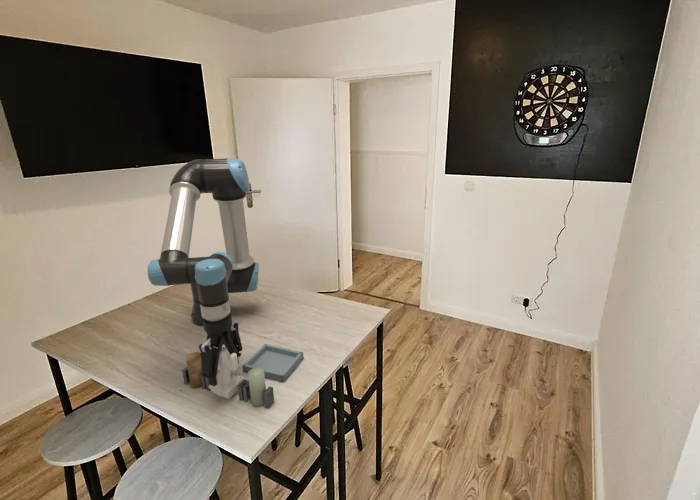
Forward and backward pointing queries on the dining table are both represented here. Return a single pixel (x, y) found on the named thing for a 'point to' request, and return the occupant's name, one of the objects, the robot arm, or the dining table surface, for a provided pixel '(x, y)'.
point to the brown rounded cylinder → (194, 369)
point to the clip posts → (242, 389)
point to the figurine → (228, 374)
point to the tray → (274, 362)
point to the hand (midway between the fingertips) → (226, 383)
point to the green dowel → (257, 386)
